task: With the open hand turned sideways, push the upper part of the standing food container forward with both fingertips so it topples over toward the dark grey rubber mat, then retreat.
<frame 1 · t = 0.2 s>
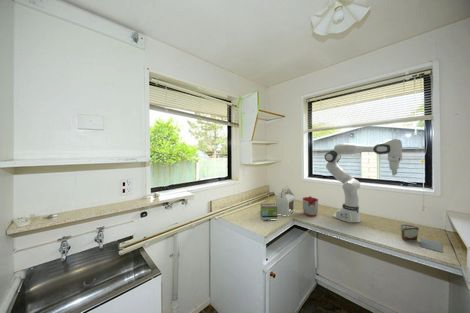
hand: (394, 174, 142), 47 cm above the worktop, fingers open, 8 cm apart
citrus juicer: (310, 215, 180), on the worktop
mat: (430, 245, 120), on the worktop
gable box: (285, 212, 189), on the worktop
tea box: (268, 219, 172), on the worktop
food container: (406, 239, 130), on the worktop
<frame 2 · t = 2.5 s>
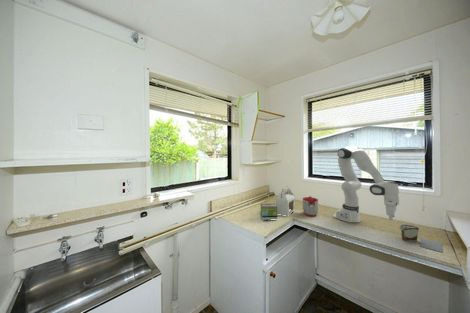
hand: (391, 218, 135), 13 cm above the worktop, fingers open, 8 cm apart
nothing on the worktop moved.
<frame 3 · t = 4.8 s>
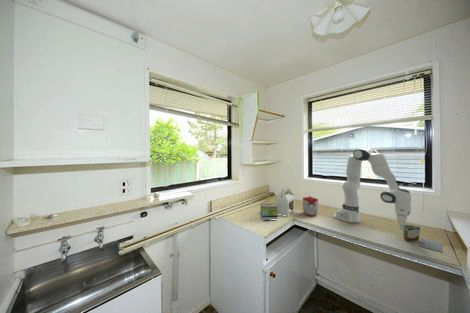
hand: (402, 227, 131), 8 cm above the worktop, fingers open, 8 cm apart
food container: (408, 239, 129), on the worktop, touching gripper
everything else where it was.
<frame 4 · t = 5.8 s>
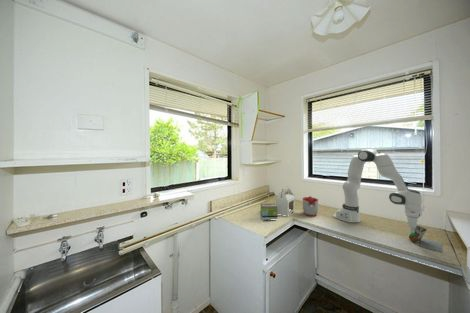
hand: (413, 230, 126), 8 cm above the worktop, fingers open, 8 cm apart
food container: (412, 238, 127), point 1 cm above the worktop, touching gripper, mat
everything else where it was.
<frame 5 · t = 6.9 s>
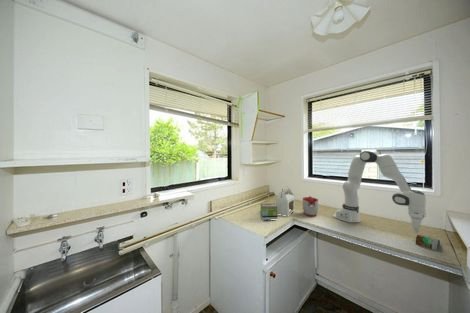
hand: (416, 231, 125), 8 cm above the worktop, fingers open, 8 cm apart
food container: (417, 237, 125), point 3 cm above the worktop, touching mat
everything else where it was.
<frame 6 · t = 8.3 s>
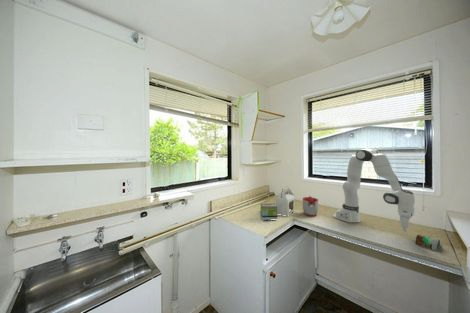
hand: (405, 229, 130), 7 cm above the worktop, fingers open, 8 cm apart
nothing on the worktop moved.
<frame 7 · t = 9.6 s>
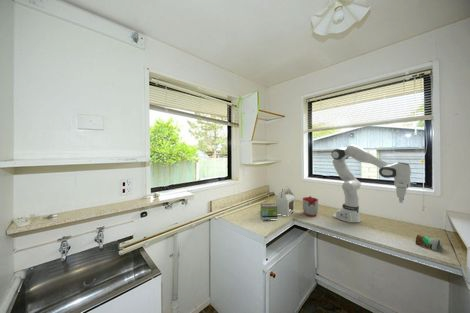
hand: (401, 201, 131), 28 cm above the worktop, fingers open, 8 cm apart
nothing on the worktop moved.
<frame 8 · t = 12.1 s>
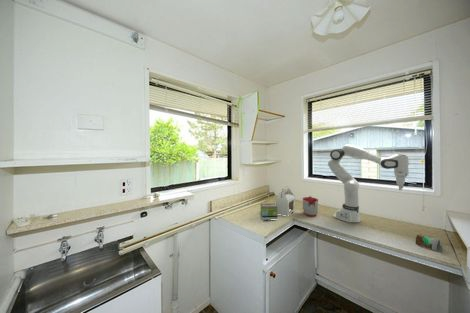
hand: (400, 189, 145), 34 cm above the worktop, fingers open, 8 cm apart
nothing on the worktop moved.
at the end: food container tilted 90°; food container inside the target area (5.7 cm from its centre), point 3.5 cm above the worktop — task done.
